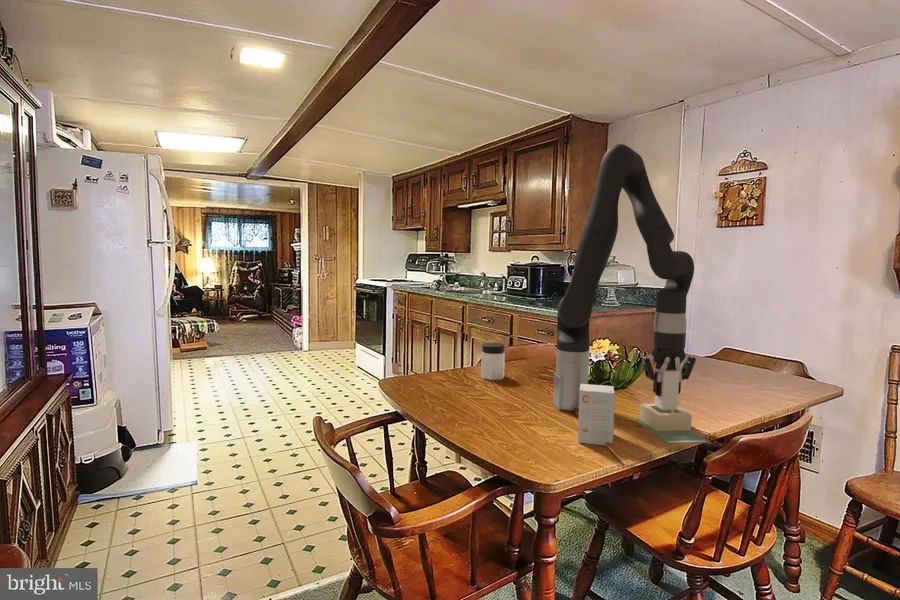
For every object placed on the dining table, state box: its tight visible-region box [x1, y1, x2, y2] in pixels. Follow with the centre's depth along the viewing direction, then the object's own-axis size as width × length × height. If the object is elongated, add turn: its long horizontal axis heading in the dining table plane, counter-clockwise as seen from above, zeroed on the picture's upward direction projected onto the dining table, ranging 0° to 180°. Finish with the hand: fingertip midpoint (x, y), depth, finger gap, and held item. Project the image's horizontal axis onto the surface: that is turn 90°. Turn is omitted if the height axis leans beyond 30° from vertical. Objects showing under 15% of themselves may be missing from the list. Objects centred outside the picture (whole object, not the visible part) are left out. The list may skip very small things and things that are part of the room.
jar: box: [480, 342, 506, 381], centre depth 174 cm, size 9×8×12 cm
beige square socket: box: [639, 402, 693, 431], centre depth 125 cm, size 9×10×4 cm
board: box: [634, 417, 712, 445], centre depth 121 cm, size 11×17×1 cm, turn 4°
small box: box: [577, 383, 616, 447], centre depth 116 cm, size 8×6×13 cm
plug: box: [654, 368, 679, 410], centre depth 125 cm, size 4×5×10 cm
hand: (666, 394), depth 125 cm, fingers closed on plug, 4 cm apart
